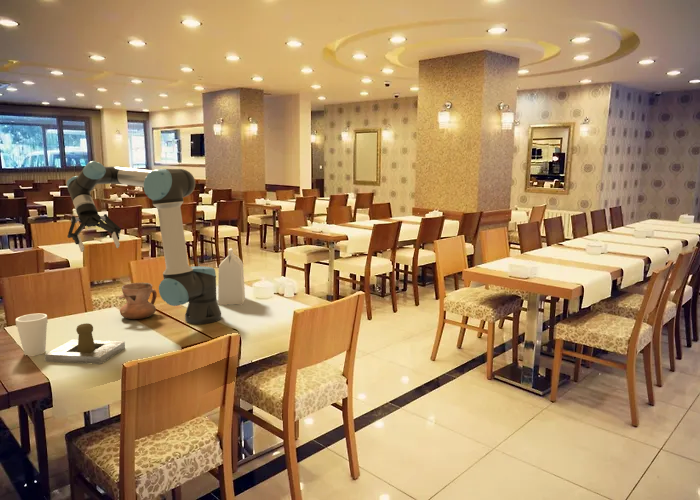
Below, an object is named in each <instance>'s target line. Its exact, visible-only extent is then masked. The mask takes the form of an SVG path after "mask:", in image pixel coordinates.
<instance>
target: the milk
mask: <svg viewBox="0 0 700 500" xmlns="http://www.w3.org/2000/svg"><path fill="white" fill-rule="evenodd" d="M227 253H228V254H227V256H226V257H225V258H224V259H223V260H222V261H221V262H220V264H219V265H218V284H217V286H218V287H217V288H218V292H217V294H218V297H217V299H218V300H217V303H218V306H226V305H227V304H240V305H243V304H244V302H245V299H246V292H245V289H246V288H245V273H244V261H242V259H241V258H240V257H239V256H238V255H236V254H235V253H234V249H233V248H232V247H230V248H229V249H228V251H227ZM227 306H228V305H227Z"/></svg>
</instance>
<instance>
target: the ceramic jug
mask: <svg viewBox="0 0 700 500" xmlns="http://www.w3.org/2000/svg"><path fill="white" fill-rule="evenodd" d="M121 293H122V294H120V295H118V299H119V300H123V299H125V300H126V303H125V304H123V306H121V307H120V308H119V314H120V315H121V317H123V318H124V319H129V320H142V319H146V318H149V317H151V316H152V315H154V314H155V313H156V310H157V309H156V306H155V302H156V300H157V291H156V290H155V289H154V288H153V284H152V283H150V282H132V283H126V284H124V285H122V286H121ZM151 294H152V298H151V301H149V299H150V297H151Z"/></svg>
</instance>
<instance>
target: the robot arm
mask: <svg viewBox="0 0 700 500" xmlns="http://www.w3.org/2000/svg"><path fill="white" fill-rule="evenodd" d="M111 184H112V185H113V184H115V185H116V184H117V185H125V186H133V187H142V188H143V190H144V191H143V192H144V194H145V195H146V196H147V197H148V199H150V200H151V201H152V206H154V207H155V208H156V209H157V215H158V222H159V228H160V235H161V241H162V249H163V254H164V255H163V257H164V262H165V270H164V271H163V272H162V278H163V280H161V281H160V284H159V285H158V294H159V295H160V297H161V299H162V301H164V302H165V303H166V304H167V305H169V306H174V307H178V306H183V305H186V304H187V308H186V311H185V315H184V321H185V322H187V323H189V324H193V325H194V324H195V325H204V324H205V325H206V324H211V323H215V322H218V321H220V320H222V311H221V308H220V305H218V300H217V299H218V297H217V273H216V269H215V268H213V267H212V266H211V267H210V266H199V265H198V266H195V265H194V266H190V265H189V260H188V254H187V253H188V252H187V245H186V238H185V231H184V224H183V215H182V209H181V206H182V204H183V203H184V198H185V197H189V196H190V195H191V194H192V193H193V192H194V190H195V188H196V179H195V177H194V175H193V174H192V173H191V172H190V171H188V170H187V169H183V168H158V169H144V168H134V167H125V166H120V165H116V166H115V165H114V166H106V165H105V166H104V165H103V164H102V163H100V162H99V161H98V162H97V161H95V160H92V161H89V162H87V163H86V164H85V166H83V168H82V170H81V172H79V174H78V175H74V176H72V177H70V178H69V179H67V181H66V187H67V192H68V193H69V195H70V198H71V201H72V203H73V206H74V209H75V212H76V214H77V217H76V216H75V215H72V216H71V219H70V227H69V230H68V232H67V238H68V239H71V238H72V240H73V241H74V244H75V245H78V248H79V251H80V253H82V252H84V250H85V246H84V242H83V241H82V238H81V237H82V236H81V235H80V234H81V232H82V231H83V229H85V227H87V228H91V227H98V228H101V229H103V230H105V231H106V232H108V233H109V234H111V237H112V240H113V242H114V243H113V244H114V245H115V247H116V249H119V247H120V244H121V243H120V233H121V232H122V228H121V227H120V226H118V224H117V223H115V222H114V221H113V220H112V219H111V218H109V216H108V214H107V213H106V214H104V213H103V214H104V215H100V214H99V211H98V210H97V206H96V205H95V202H94V199H93V196H92V194H91V192H92V191H93V190H94V189H95V187H96V185H111ZM77 223H80V225H79V226H78V227H77V228H76V230H75V231H74V229H75V225H76V224H77Z"/></svg>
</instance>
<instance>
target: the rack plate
mask: <svg viewBox="0 0 700 500" xmlns="http://www.w3.org/2000/svg"><path fill="white" fill-rule="evenodd" d="M93 340H94V345H95V349H96V350H95V351H93V352H91V353H78V338H77V339H75V338H74V339H70V340H69V341H67V342H65V343H63V344H62V345H59V346H57V347H56V348H54V349H52V350H50V351H48V352H46V353H45V354H44V362H47V363H48V362H51V363H66V364H67V363H68V364H69V363H73V364H87V363H92V365H102V364H103V362H104V363H105V362H106V361H108V360H109V359H111V358H113V357H114V356H115V355H118V353H120V352H121V351H123V350H124V349H126V341H121V340H99V339H98V340H97V339H93Z"/></svg>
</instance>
